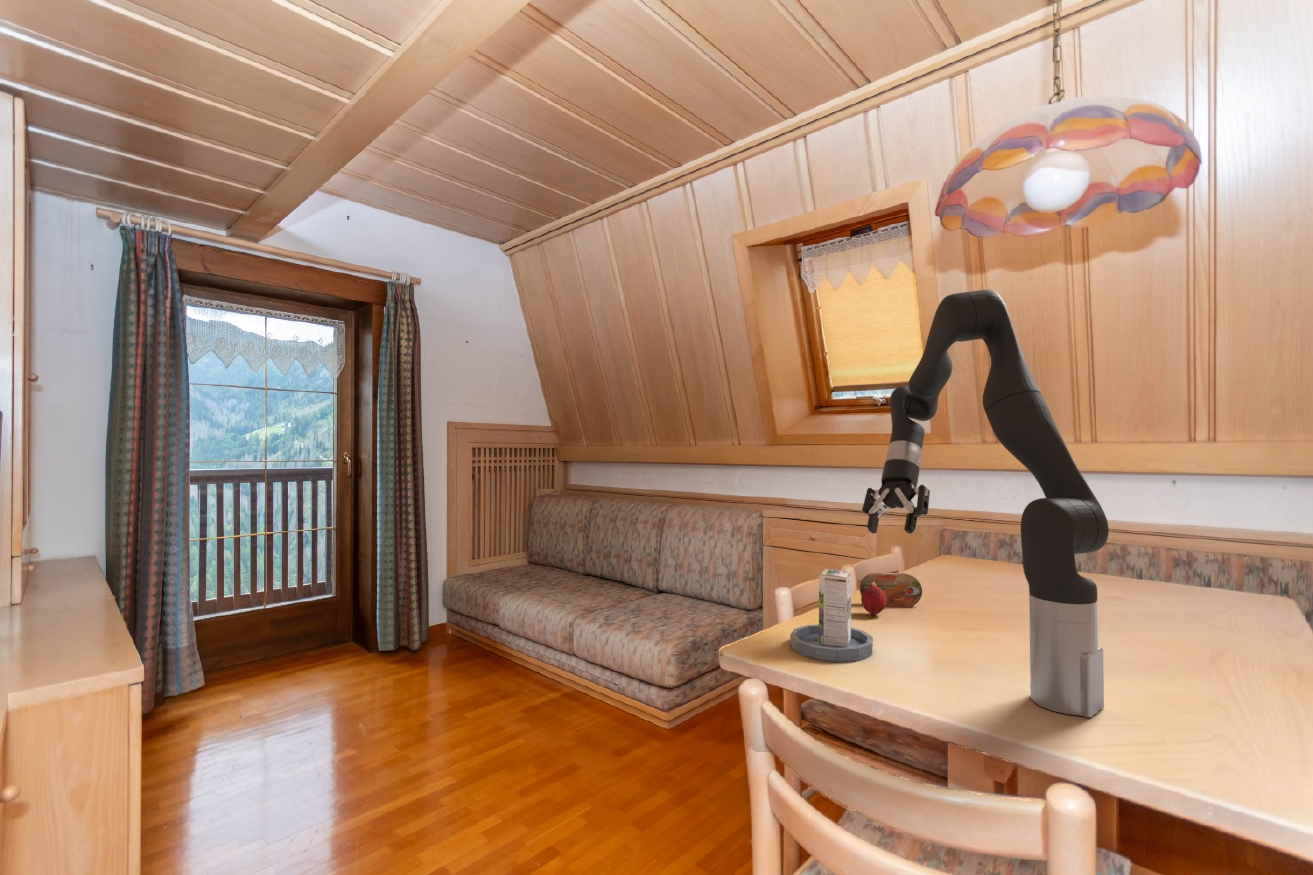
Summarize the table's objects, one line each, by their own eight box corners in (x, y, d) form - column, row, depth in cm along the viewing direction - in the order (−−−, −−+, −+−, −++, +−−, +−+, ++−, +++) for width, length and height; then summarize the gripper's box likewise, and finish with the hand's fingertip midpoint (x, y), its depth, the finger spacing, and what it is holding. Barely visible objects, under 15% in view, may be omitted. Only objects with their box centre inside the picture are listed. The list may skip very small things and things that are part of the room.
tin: (860, 606, 159) (860, 573, 159) (858, 603, 162) (858, 570, 162) (922, 608, 156) (922, 574, 156) (919, 604, 160) (919, 572, 160)
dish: (888, 649, 126) (888, 637, 126) (839, 668, 116) (839, 655, 116) (824, 631, 139) (824, 619, 139) (775, 646, 129) (775, 634, 129)
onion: (888, 619, 147) (888, 585, 147) (863, 618, 148) (862, 585, 148) (884, 612, 153) (884, 580, 153) (860, 611, 154) (859, 579, 154)
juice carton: (823, 636, 132) (822, 568, 132) (852, 639, 130) (851, 570, 130) (818, 644, 127) (817, 573, 127) (848, 648, 124) (847, 576, 124)
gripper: (865, 460, 143) (851, 525, 137) (923, 454, 132) (912, 524, 126) (882, 475, 147) (869, 538, 141) (941, 470, 136) (930, 539, 130)
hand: (889, 532), depth 133 cm, fingers open, 8 cm apart
